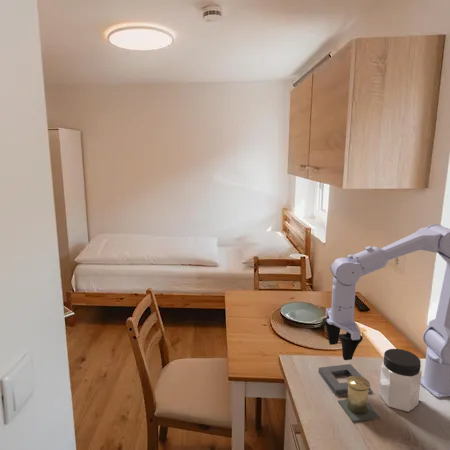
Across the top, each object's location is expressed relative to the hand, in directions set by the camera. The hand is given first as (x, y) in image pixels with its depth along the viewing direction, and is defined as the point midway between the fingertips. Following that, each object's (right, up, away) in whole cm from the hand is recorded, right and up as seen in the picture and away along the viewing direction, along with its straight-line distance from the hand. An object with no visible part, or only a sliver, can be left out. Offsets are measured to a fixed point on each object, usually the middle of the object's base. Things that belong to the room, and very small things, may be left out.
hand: (340, 351), depth 92 cm
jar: (+13, -11, -4) cm, 18 cm away
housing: (+2, -10, +3) cm, 10 cm away
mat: (+2, -12, -8) cm, 14 cm away
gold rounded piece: (+1, -11, -8) cm, 14 cm away
